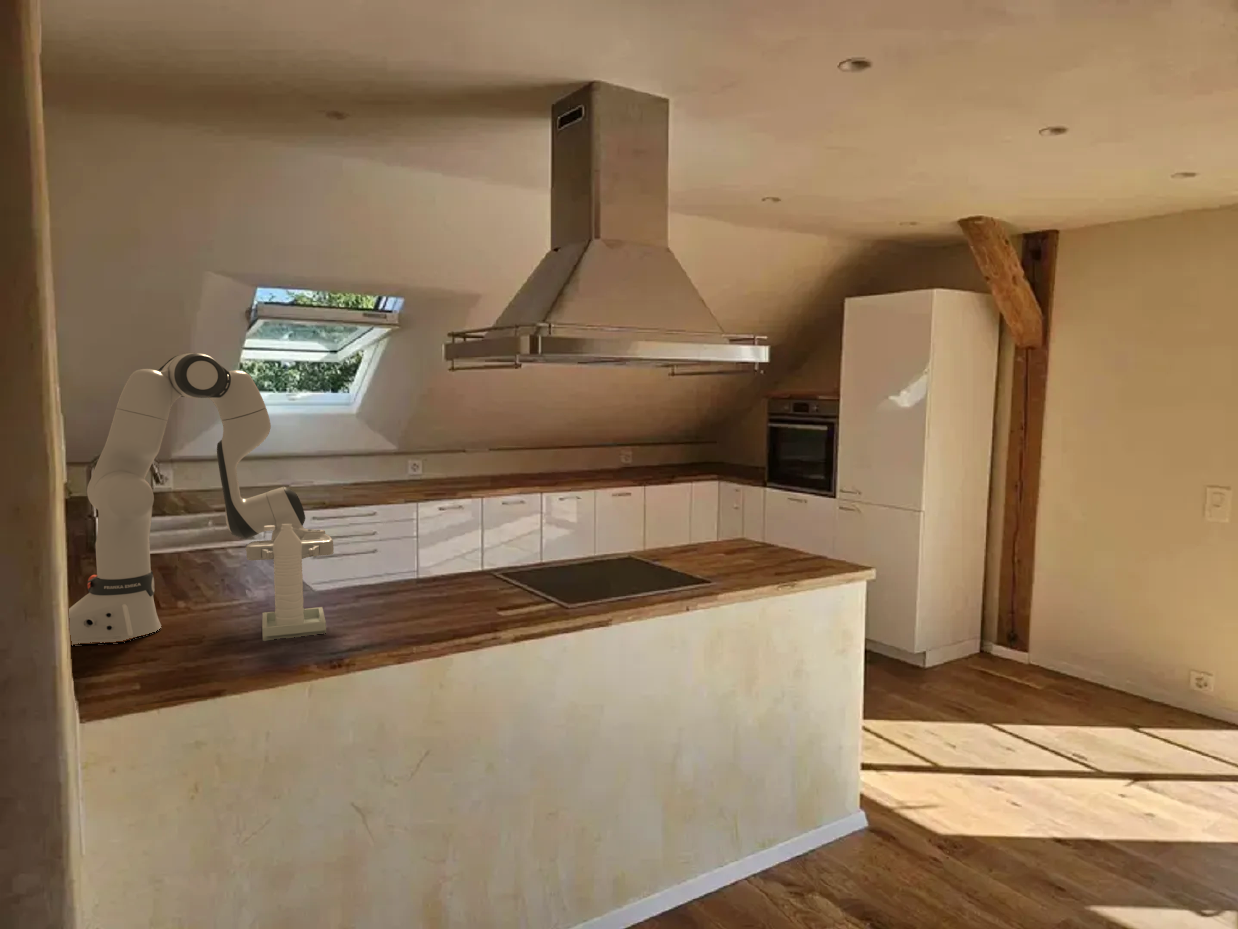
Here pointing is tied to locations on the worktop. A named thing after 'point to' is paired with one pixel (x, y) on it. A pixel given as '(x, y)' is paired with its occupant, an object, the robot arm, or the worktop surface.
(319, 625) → the sage tray
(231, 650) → the worktop surface
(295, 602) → the water bottle
